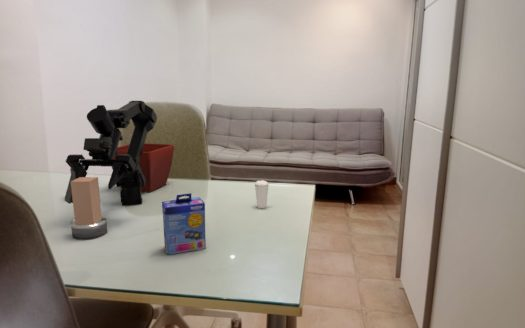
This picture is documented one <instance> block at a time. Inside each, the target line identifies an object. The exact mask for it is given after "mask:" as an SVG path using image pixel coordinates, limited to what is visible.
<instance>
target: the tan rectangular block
mask: <svg viewBox="0 0 525 328" xmlns="http://www.w3.org/2000/svg"><path fill="white" fill-rule="evenodd" d="M99 184H100V183H99V177H98V176H93V177H92V176H90V177H89V176H88V177H87V176H86V177H79V178H77V179H75V180H73V181H71V190H72V199H73V203H72V207H73V215H74V221H75V225H94V224H96V223H97V222H98V221H100V220H101V219H102V217H103V215H102V206H101V197H100V196H101V195H100V194H101V193H100V185H99Z"/></svg>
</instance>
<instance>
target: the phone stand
mask: <svg viewBox="0 0 525 328" xmlns="http://www.w3.org/2000/svg"><path fill="white" fill-rule="evenodd" d="M69 171H70V177H69V181H68V184H67V188H66V191H65V196H64V200H65V201H66V202H67V203H69V204H73V199H72V190H71V181H73V180H75V179H76V178H75V171H73V170H72V169H71V168H70V170H69Z"/></svg>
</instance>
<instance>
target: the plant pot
mask: <svg viewBox="0 0 525 328" xmlns="http://www.w3.org/2000/svg"><path fill="white" fill-rule="evenodd" d="M128 147H129V144H126V145H122V146H118V147H117V151H118V154H117V155H126V154H127V151H128ZM174 149H175V145H174V144H170V143H169V144H168V143H167V144H166V143H146V142H145V143H144V147H143V150H142V154H141V157H140V161H139V165H140V168H141V170H142V171H141V172H142V173H143V175H144V177H145V186H141V193H151V192H153V191H156V190H158V189H159V188H162V187H164V186H166V185H167V183H168V182H167V181H168V179H169V176H170V172H171V167H172V162H173V159H174V158H173V157H174V152H175V151H174ZM115 158H116V155H115V156H114V159H115ZM110 168H111V169H112V170H113V166H110Z"/></svg>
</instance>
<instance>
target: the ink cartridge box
mask: <svg viewBox="0 0 525 328" xmlns="http://www.w3.org/2000/svg"><path fill="white" fill-rule="evenodd" d="M182 197H183V198H182ZM161 208H162V210H161V211H162V221H163V222H162V223H163V225H162V227H163V238H164V239H163V240H164V249H165V252H166V255H167V256H170V255H174V254H181V253H187V252H193V251H199V250H205V249H206V248H207V243H206V242H207V241H206V202H205V201H203V200H202V198H201V197H200V196H199V197H192V192H188V193H181V194H176V198H175V199H172V200H171V199H170V200H163V201H161Z"/></svg>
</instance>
